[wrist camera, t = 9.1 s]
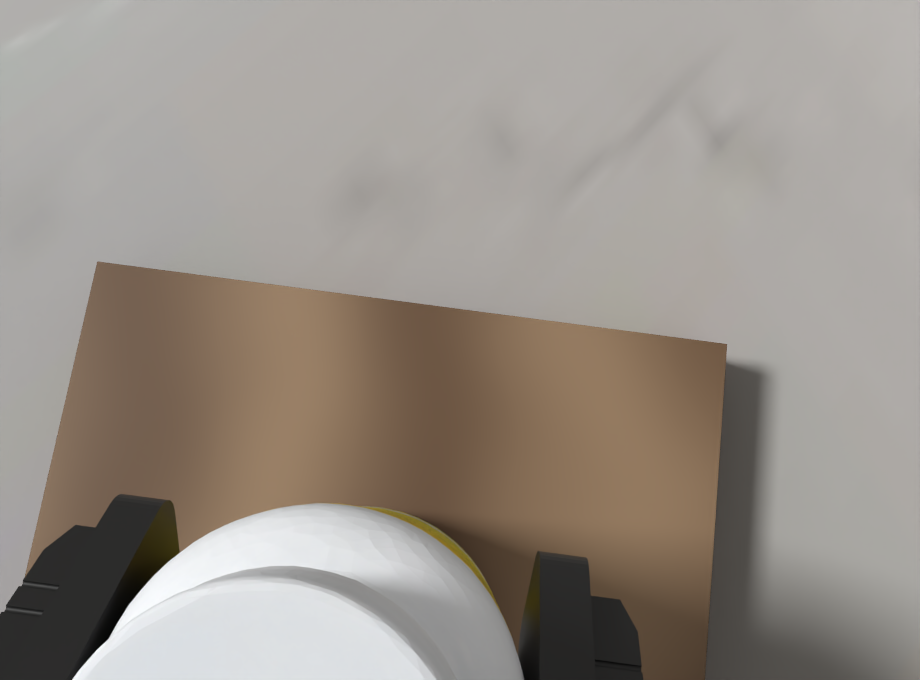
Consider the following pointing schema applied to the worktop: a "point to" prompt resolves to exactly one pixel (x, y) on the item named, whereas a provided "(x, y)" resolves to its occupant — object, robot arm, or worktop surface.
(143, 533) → the robot arm
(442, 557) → the supplement bottle
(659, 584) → the walnut board
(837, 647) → the worktop surface
